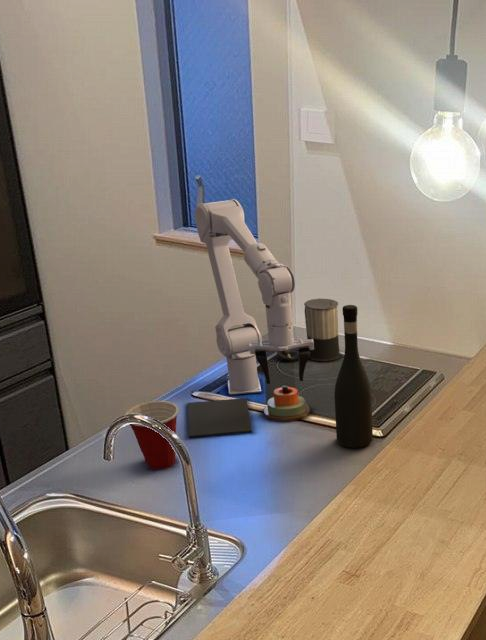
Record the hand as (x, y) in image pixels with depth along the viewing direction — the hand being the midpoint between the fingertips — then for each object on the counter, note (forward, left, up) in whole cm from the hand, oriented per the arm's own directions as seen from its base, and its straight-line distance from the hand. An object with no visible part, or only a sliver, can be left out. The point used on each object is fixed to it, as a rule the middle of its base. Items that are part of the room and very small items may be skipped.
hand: (284, 381), depth 200 cm
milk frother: (-38, +10, -8) cm, 40 cm away
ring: (0, 0, -5) cm, 5 cm away
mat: (0, -16, -8) cm, 18 cm away
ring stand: (0, 0, -8) cm, 8 cm away
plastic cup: (+22, -29, -8) cm, 37 cm away
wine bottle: (+20, +13, -8) cm, 25 cm away
